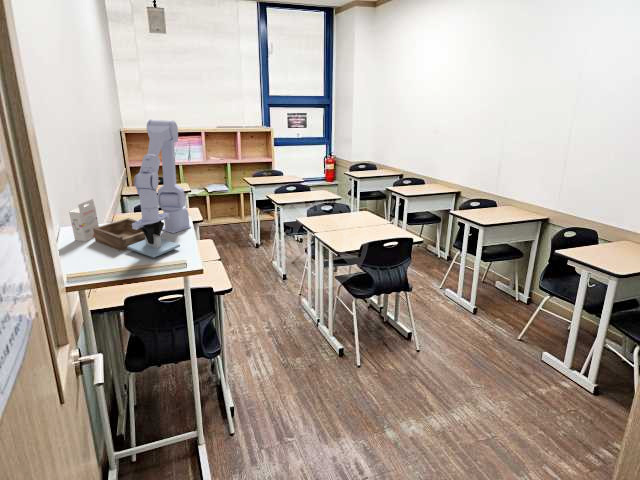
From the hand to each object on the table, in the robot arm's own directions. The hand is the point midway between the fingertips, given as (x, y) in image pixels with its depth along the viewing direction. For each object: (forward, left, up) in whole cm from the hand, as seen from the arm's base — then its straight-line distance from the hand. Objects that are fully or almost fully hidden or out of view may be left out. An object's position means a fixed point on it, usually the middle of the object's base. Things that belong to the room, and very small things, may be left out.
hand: (153, 242), depth 158 cm
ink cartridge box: (+7, -31, -3) cm, 32 cm away
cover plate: (0, 0, -2) cm, 2 cm away
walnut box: (0, -17, -3) cm, 17 cm away
